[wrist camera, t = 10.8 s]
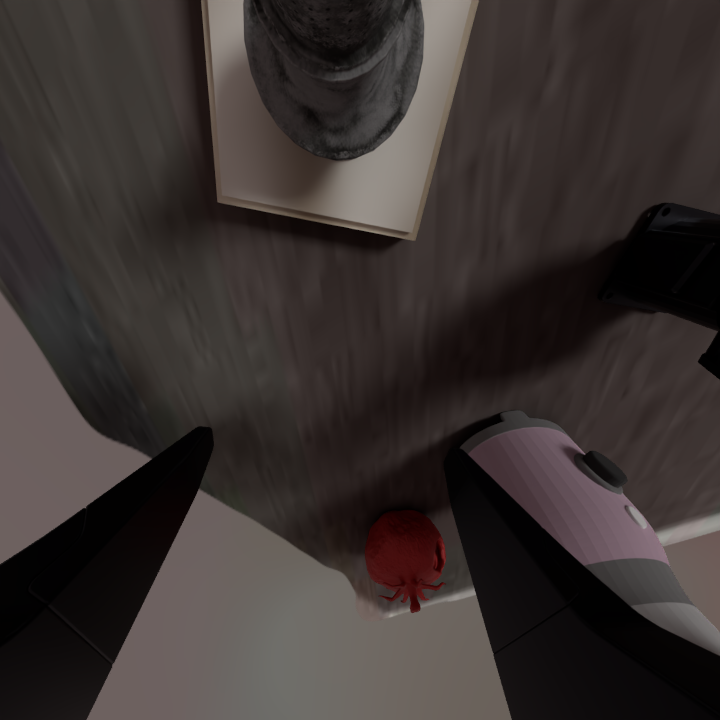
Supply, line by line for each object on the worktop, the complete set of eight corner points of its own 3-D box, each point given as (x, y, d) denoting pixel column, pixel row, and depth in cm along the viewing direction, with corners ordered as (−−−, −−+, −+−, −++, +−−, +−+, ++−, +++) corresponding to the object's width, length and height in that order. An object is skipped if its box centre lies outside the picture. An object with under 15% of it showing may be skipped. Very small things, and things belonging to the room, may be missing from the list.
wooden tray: (474, -31, 12) (502, -80, 10) (408, 236, 17) (416, 241, 15) (213, -122, 10) (179, -204, 8) (231, 201, 16) (214, 202, 14)
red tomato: (355, 536, 38) (356, 626, 30) (376, 496, 33) (383, 592, 25) (420, 543, 40) (437, 630, 32) (449, 506, 34) (478, 599, 27)
